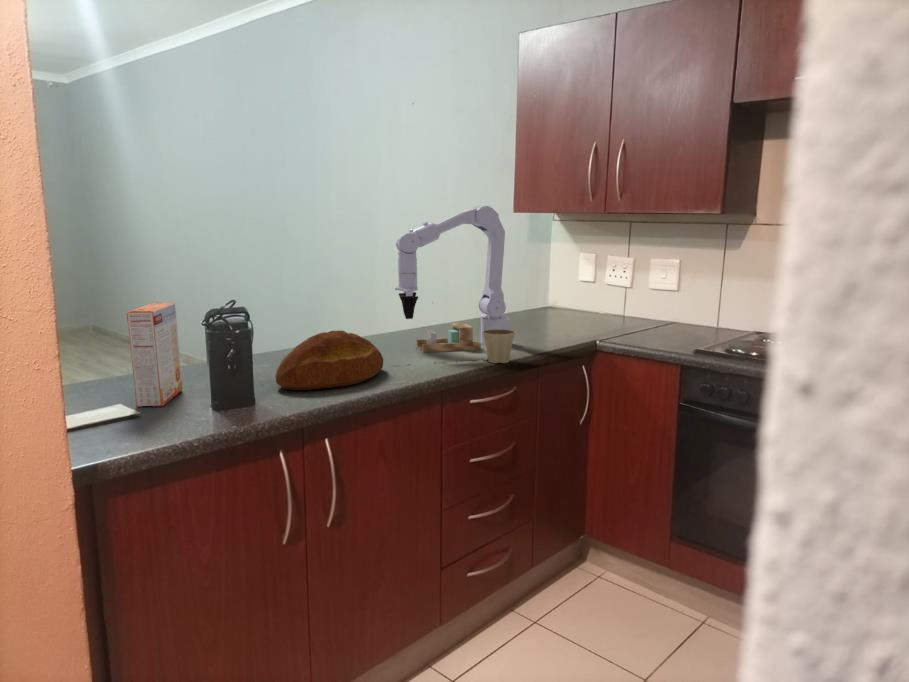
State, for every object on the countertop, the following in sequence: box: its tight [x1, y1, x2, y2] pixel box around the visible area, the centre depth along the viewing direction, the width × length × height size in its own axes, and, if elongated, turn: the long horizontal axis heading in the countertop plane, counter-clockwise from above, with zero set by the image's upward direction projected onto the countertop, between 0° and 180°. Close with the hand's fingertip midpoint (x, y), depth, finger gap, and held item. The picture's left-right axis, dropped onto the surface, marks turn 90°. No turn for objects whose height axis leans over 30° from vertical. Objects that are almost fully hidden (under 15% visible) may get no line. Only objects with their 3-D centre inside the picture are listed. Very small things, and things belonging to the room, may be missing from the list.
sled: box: [426, 330, 437, 344], centre depth 203 cm, size 12×7×5 cm, turn 104°
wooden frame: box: [415, 322, 482, 353], centre depth 203 cm, size 18×10×8 cm, turn 104°
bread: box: [275, 330, 384, 391], centre depth 164 cm, size 21×33×12 cm, turn 139°
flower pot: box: [483, 329, 517, 364], centre depth 186 cm, size 9×9×9 cm
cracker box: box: [126, 302, 184, 408], centre depth 145 cm, size 14×6×21 cm, turn 5°
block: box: [447, 329, 459, 343], centre depth 203 cm, size 4×4×4 cm
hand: (408, 317), depth 204 cm, fingers open, 7 cm apart
